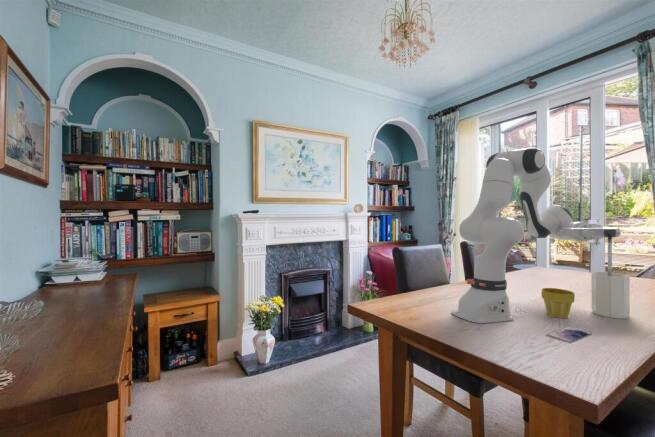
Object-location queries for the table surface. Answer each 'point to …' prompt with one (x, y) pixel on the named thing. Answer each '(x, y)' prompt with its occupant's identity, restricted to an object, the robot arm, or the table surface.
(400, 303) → the table surface
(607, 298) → the press carafe
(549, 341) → the table surface
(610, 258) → the plunger
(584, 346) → the table surface
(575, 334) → the smartphone
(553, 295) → the plant pot
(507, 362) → the table surface
